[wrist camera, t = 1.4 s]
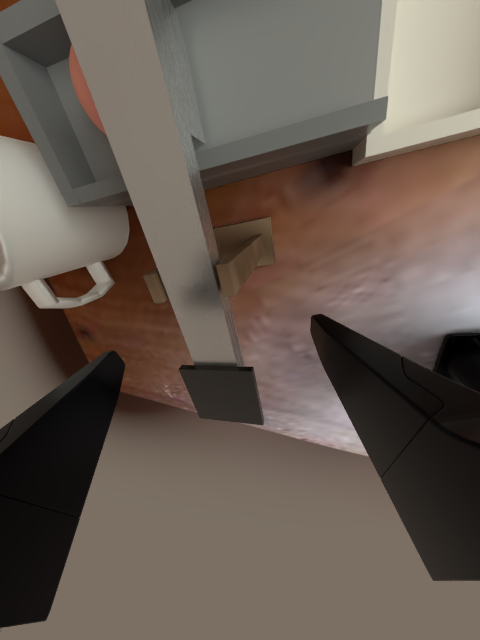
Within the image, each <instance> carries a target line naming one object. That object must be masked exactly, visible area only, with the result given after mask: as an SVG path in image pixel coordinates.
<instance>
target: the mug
mask: <svg viewBox="0 0 480 640" xmlns="http://www.w3.org/2000/svg"><path fill="white" fill-rule="evenodd" d="M129 231H130V229H129V220H128V213H127V210H126V207H125V206H102V207H68V205H67V203H66V201H65V200H64V198H63V196H62V194H61V192H60V190H59V188H58V186H57V184H56V182H55V180H54V178H53V176H52V174H51V172H50V170H49V168H48V167H47V165H46V163H45V161H44V159H43V157H42V155H41V153H40V151H39V149H38V147H37V145H36V144H34V143H30V142H26V141H21V140H17V139H13V138H8V137H4V136H0V291H2V290H3V291H4V290H7V289H11V288H14V287H17V286H22V287H23V289H24V290H25V291H26V292H27V294H28V295H29V296H30V297H31V299H32V300H33V301H34V302H35V304H36V305H37V306H38V307H39V308H72V307H77V306H81V305H84V304H86V303H89V302H91V301H93V300H96V299H98V298H100V297H103V296H104V295H105V294H106V292H107V291H108V290H109V289H110V288H111V287H112V286H113V285H114V284H115V282H114V280H113V278H112V277H111V275H110V273H109V271H108V270H107V268H106V266H105V264H104V263H103V261H105V260H109V259H112V258H114V257H116V256H117V255H119V254H121V253H122V251H123V250H124V248H125V246H126V245H127V243H128V237H129ZM85 266H86V268H87V269H88V271H89V273H90V274H91V276H92V278H93V279H94V281H95V282H96V285H95V286H94V287H93V288H92V289H91V290H90V291H89V292H88V293H87V294H85V295H82V296H80V297H77V298H59V297H56V296H55V294H54V293H53V292H52V291H51V289H50V288H49V287H48V285H47V284H46V282H45V281H44V278H48V277H51V276H55V275H58V274H61V273H65V272H68V271H71V270H75V269H78V268H82V267H85Z"/></svg>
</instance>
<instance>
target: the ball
mask: <svg viewBox="0 0 480 640" xmlns="http://www.w3.org/2000/svg"><path fill="white" fill-rule="evenodd" d="M69 67H70V75H71V80H72V83H73V86H74V89H75V92H76V95H77V97H78V99H79V102H80V103H81V105H82V107H83V109H84V110H85V112H86V114H87V115H88V117H89V118H90V119H91V120H92V122H93V123H94V124H95V125H96V126H97V127H98V128H99V129H100V130H101V131H102V132H103V133H104V134H105V135H106V132H105V130H104V127H103V124H102V122H101V119H100V117H99V114H98V111H97V109H96V106H95V103H94V101H93V98H92V96H91V93H90V90H89V88H88V85H87V82H86V80H85V77H84V75H83V72H82V69H81V67H80V64H79V62H78V59H77V56H76V54H75V51H74V48H73V46H72V44H71V48H70V54H69ZM106 136H107V135H106Z"/></svg>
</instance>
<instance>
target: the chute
mask: <svg viewBox="0 0 480 640" xmlns="http://www.w3.org/2000/svg"><path fill="white" fill-rule="evenodd" d="M170 2H171V4H172V5H173V7H174V8H175V10H176V12H177V13H178V15H179V19H180V24H181V29H182V33H183V38H184V43H185V48H186V52H187V57H188V62H189V67H190V71H191V76H192V81H193V86H194V90H195V95H196V100H197V105H198V109H199V114H200V119H201V124H202V129H203V133H204V138H205V143H206V144H205V145H202V146H199V147H196V148H194V150H195V155H196V159H197V163H198V168H199V172H200V176H201V180H202V185H203V189H204V190H208V189H211V188H215V187H218V186H222V185H226V184H229V183H233V182H237V181H240V180H244V179H248V178H251V177H255V176H259V175H262V174H266V173H269V172H273V171H277V170H280V169H284V168H288V167H291V166H295V165H299V164H302V163H306V162H310V161H313V160H317V159H320V158H324V157H328V156H331V155H335V154H339V153H342V152H346V151H350V150H353V149H354V148H355V147H356V146H357V145H358V144H359V143H360V142H361V141H362V140H363V139H364V138H365V137H366V136H367V135H369V134H370V133H371V131H372V130H373V129H374V128H375V127H377V126H378V125H379V124H381V123H382V122H383V121H384V120H386V114H387V105H388V96H385V97H382V98H379V99H375V100H374V92H375V80H376V69H377V57H378V45H379V33H380V22H381V10H382V0H170ZM71 44H72V43H71V41H70V38H69V35H68V33H67V30H66V28H65V25H64V22H63V20H62V17H61V14H60V12H59V9H58V7H57V4H56V1H55V0H21V1H19V2H17V3H15V4H14V5H12V6H10V7H8V8H7V9H5V10H3V11H1V12H0V75H1V77H2V79H3V81H4V83H5V85H6V87H7V89H8V91H9V93H10V95H11V97H12V99H13V101H14V103H15V104H16V106H17V108H18V110H19V112H20V114H21V116H22V118H23V120H24V122H25V124H26V126H27V128H28V130H29V132H30V134H31V136H32V137H33V139H34V141H35V143H36V145H37V147H38V149H39V151H40V153H41V155H42V157H43V159H44V161H45V163H46V165H47V167H48V168H49V170H50V172H51V174H52V176H53V178H54V180H55V182H56V184H57V186H58V188H59V190H60V192H61V194H62V196H63V198H64V200H65V201H66V203H67V205H68V207H102V206H134V205H133V203H132V200H131V198H130V195H129V192H128V190H127V187H126V185H125V182H124V179H123V177H122V174H121V171H120V169H119V166H118V164H117V161H116V158H115V156H114V153H113V151H112V148H111V145H110V143H109V140H108V137H107V136H106V135H105V134H104V133H103V132H102V131H101V130H100V129H99V128H98V127H97V126H96V125H95V124H94V123H93V122H92V120H91V119H90V118H89V117H88V115H87V114H86V112H85V110H84V109H83V107H82V105H81V103H80V102H79V99H78V97H77V95H76V92H75V89H74V86H73V83H72V80H71V75H70V67H69V54H70V48H71Z"/></svg>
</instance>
